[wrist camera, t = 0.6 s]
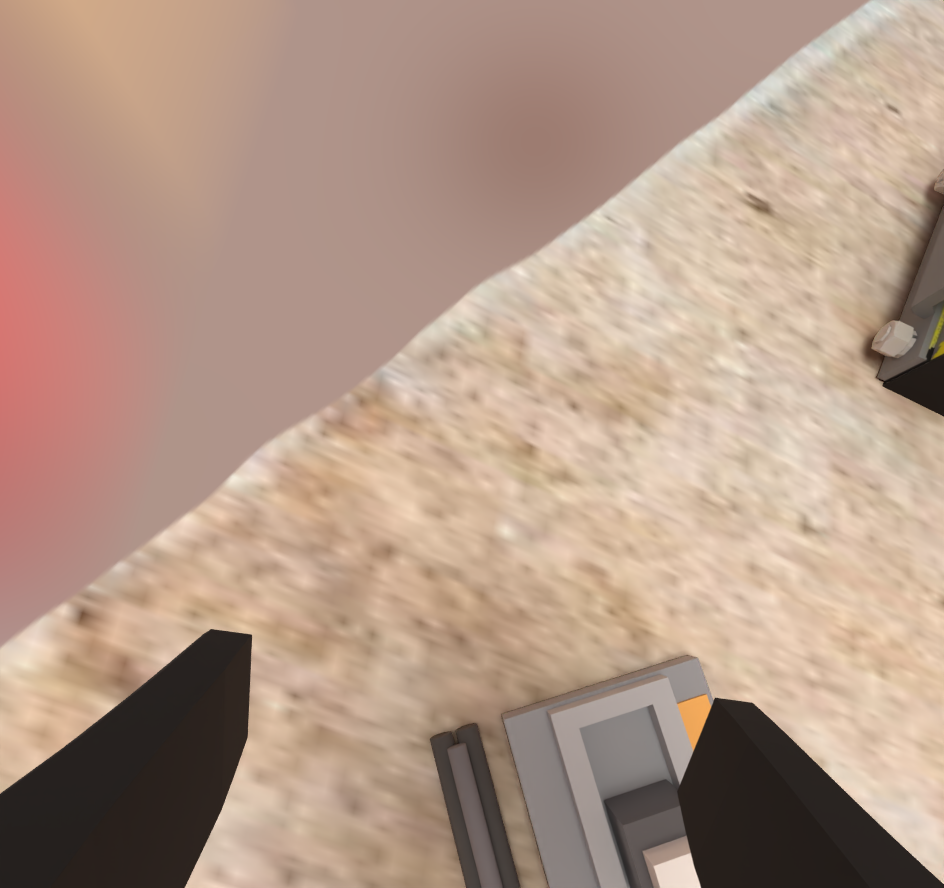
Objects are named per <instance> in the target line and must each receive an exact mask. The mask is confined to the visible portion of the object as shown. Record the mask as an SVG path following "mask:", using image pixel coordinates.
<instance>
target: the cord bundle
mask: <svg viewBox="0 0 944 888" xmlns="http://www.w3.org/2000/svg"><path fill="white" fill-rule="evenodd" d="M456 735H457V739H458V743H459V744H456V745H455V743H454V739H453V735H452V732H444V733H441V734H438V735H436V736H434V737H432V738H431V739H430V741H431V745H432V750H433V754H434V758H435V762H436V766H437V770H438V774H439V778H440V782H441V786H442V790H443V794H444V798H445V803H446V807H447V811H448V815H449V819H450V823H451V827H452V831H453V835H454V839H455V843H456V847H457V852H458V856H459V860H460V864H461V868H462V872H463V876H464V880H465V884H466V888H520V884H519V881H518V877H517V873H516V869H515V865H514V862H513V858H512V854H511V850H510V847H509V843H508V839H507V835H506V831H505V828H504V824H503V820H502V816H501V813H500V809H499V805H498V801H497V797H496V794H495V790H494V786H493V782H492V779H491V775H490V771H489V767H488V763H487V760H486V756H485V752H484V748H483V745H482V741H481V737H480V733H479V729H478V726H477V724H469V725H466V726H463V727H461V728H459V729H457V730H456Z"/></svg>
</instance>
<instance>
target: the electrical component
mask: <svg viewBox="0 0 944 888" xmlns="http://www.w3.org/2000/svg"><path fill="white" fill-rule="evenodd" d="M934 190H935V191H937V192H939V193H941V194H944V170H943V171H942V172H941V173H940V175H939V176H938V178H937V181H936V183H935V186H934ZM872 349H873V350H875V351H877V352H879V353H881V354H883V355H885V358H884V361H883V363H882V366H881V369H880V371H879V374H878V376H877V378H879V379H881V380H883V381H884V383H883V387H885V388H887V389H889V390H891V391H893V392H895V393H897V394H899V395H901V396H903V397H906V398H908V399H910V400H912V401H914V402H916V403H918V404H920V405H922V406H924V407H926V408H928V409H930V410H932V411H934V412H936V413H938V414H940V415H942V416H944V205H943V208H942V210H941V213H940V215H939V218H938V221H937V223H936V226H935V228H934V231H933V234H932V236H931V239H930V241H929V244H928V247H927V249H926V252H925V254H924V257H923V260H922V262H921V265H920V267H919V270H918V273H917V275H916V278H915V280H914V283H913V285H912V288H911V291H910V293H909V296H908V298H907V301H906V304H905V306H904V309H903V311H902V314H901V317H900V319H899V321H895V320H892V321H890V322H889V323H887V324H886V325H884V326H883V327H882V328H881V329H880V330H879V331H878V333H877V334H876V336H875V338H874V340H873V342H872Z"/></svg>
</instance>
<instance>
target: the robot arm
mask: <svg viewBox="0 0 944 888" xmlns="http://www.w3.org/2000/svg"><path fill="white" fill-rule="evenodd" d="M251 648H252V635H250V634H243V633H236V632H228V631H221V630H214V629H211V630H209V631H208V632H206V633H205V634H203V635H202V636H201V637H200V638H198V639H197V640H196V641H195V642H194V643H192V644H191V645H190V646H189V647H188V648H186V649H185V650H184V651H183V652H182V653H180V654H179V655H178V656H177V657H176V658H175V659H173V660H172V661H171V662H170V663H169V664H167V665H166V666H165V667H164V668H163V669H161V670H160V671H159V672H158V673H157V674H155V675H154V676H153V677H152V678H151V679H149V680H148V681H147V682H146V683H145V684H143V685H142V686H141V687H140V688H138V689H137V690H136V691H135V692H134V693H132V694H131V695H130V696H129V697H127V698H126V699H125V700H124V701H122V702H121V703H120V704H119V705H117V706H116V707H115V708H113V709H112V710H111V711H110V712H108V713H107V714H106V715H105V716H103V717H102V718H101V719H100V720H98V721H97V722H96V723H94V724H93V725H92V726H91V727H89V728H88V729H87V730H86V731H84V732H83V733H82V734H81V735H79V736H78V737H77V738H75V739H74V740H73V741H71V742H70V743H69V744H67V745H66V746H65V747H64V748H62V749H61V750H59V751H58V752H57V753H55V754H54V755H53V756H51V757H50V758H49V759H47V760H46V761H44V762H43V763H42V764H40V765H39V766H38V767H36V768H35V769H33V770H32V771H31V772H29V773H28V774H27V775H25V776H24V777H22V778H21V779H20V780H18V781H17V782H16V783H14V784H13V785H11V786H10V787H9V788H7V789H6V790H5V791H3V792H2V793H1V794H0V888H185V886H186V884H187V882H188V880H189V878H190V875H191V873H192V871H193V869H194V867H195V865H196V863H197V861H198V859H199V857H200V854H201V852H202V850H203V848H204V846H205V844H206V842H207V840H208V838H209V835H210V833H211V831H212V829H213V827H214V825H215V823H216V821H217V818H218V816H219V814H220V812H221V810H222V807H223V804H224V802H225V799H226V796H227V794H228V791H229V788H230V785H231V783H232V780H233V777H234V775H235V772H236V769H237V766H238V763H239V760H240V757H241V755H242V752H243V749H244V746H245V743H246V740H247V737H248V715H249V693H250V670H251ZM677 794H678V798H679V803H680V808H681V813H682V817H683V822H684V827H685V831H686V836H687V840H688V844H689V848H690V852H691V856H692V860H693V864H694V868H695V871H696V874H697V877H698V880H699V883H700V886H701V888H944V884H943V883H942V882H941V881H939V880H938V879H937V878H936V877H935V876H934V875H933V874H932V873H931V872H930V871H928V870H927V869H926V868H925V867H924V866H923V865H922V864H921V863H920V862H919V861H918V860H917V859H916V858H914V857H913V856H912V855H911V854H910V853H909V852H908V851H907V850H906V849H905V848H904V847H903V846H902V845H900V844H899V843H898V842H897V841H896V840H895V839H894V838H893V837H892V836H891V835H890V834H889V833H888V832H887V831H886V830H885V829H884V828H883V827H881V826H880V825H879V824H878V823H877V822H876V821H875V820H874V819H873V818H872V817H871V816H870V815H869V814H868V813H867V812H866V811H865V810H864V809H863V808H862V807H861V806H860V805H859V804H858V803H857V802H855V801H854V800H853V799H852V798H851V797H850V796H849V795H848V794H847V793H846V792H845V791H844V790H843V789H842V788H841V787H840V786H839V785H838V784H837V783H836V782H835V781H834V780H833V779H832V778H831V777H830V776H829V775H828V774H827V773H826V772H825V771H824V770H823V769H822V768H821V767H820V766H819V765H818V764H817V763H816V762H814V761H813V760H812V759H811V758H810V757H809V756H808V755H807V754H806V753H805V752H804V751H803V750H802V749H801V748H800V747H799V746H798V745H797V744H796V743H795V742H794V741H793V740H792V739H791V738H790V737H789V736H788V735H787V734H786V733H785V732H784V731H783V730H781V729H780V728H779V727H778V726H777V725H776V724H775V723H774V722H773V721H772V720H771V719H770V718H769V717H768V716H767V715H765V714H764V713H763V712H762V711H761V710H760V709H759V708H758V707H756V706H755V705H754V704H753V703H750V702H742V701H735V700H728V699H720V698H715V699H714V702H713V704H712V706H711V709H710V711H709V714H708V716H707V719H706V721H705V724H704V726H703V729H702V731H701V734H700V736H699V739H698V741H697V744H696V746H695V749H694V751H693V753H692V756H691V758H690V761H689V763H688V766H687V768H686V771H685V773H684V776H683V778H682V781H681V783H680V786H679V788H678V791H677Z"/></svg>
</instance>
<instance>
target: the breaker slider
mask: <svg viewBox="0 0 944 888" xmlns="http://www.w3.org/2000/svg"><path fill="white" fill-rule="evenodd" d="M677 791H678V789H677V788H676V787H675V786H674V785H672V784H671V783H670V782H669V781H668V780H667V779H665V780H662V781H659V782H656V783H653V784H650V785H647V786H644V787H641V788H638V789H635V790H632V791H630V792H627V793H624V794H621V795H618V796H615V797H612V798H609V799H606V800H604V802H605V806H606V809H607V812H608V816H609V819H610V822H611V825H612V829H613V832H614V835H615V839H616V842H617V845H618V848H619V852H620V855H621V858H622V862H623V865H624V868H625V871H626V875H627V878H628V881H629V885H630V888H701V886H700V883H699V880H698V877H697V874H696V871H695V868H694V864H693V860H692V856H691V852H690V848H689V844H688V840H687V836H686V831H685V827H684V822H683V817H682V813H681V808H680V803H679V798H678V794H677Z"/></svg>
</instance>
